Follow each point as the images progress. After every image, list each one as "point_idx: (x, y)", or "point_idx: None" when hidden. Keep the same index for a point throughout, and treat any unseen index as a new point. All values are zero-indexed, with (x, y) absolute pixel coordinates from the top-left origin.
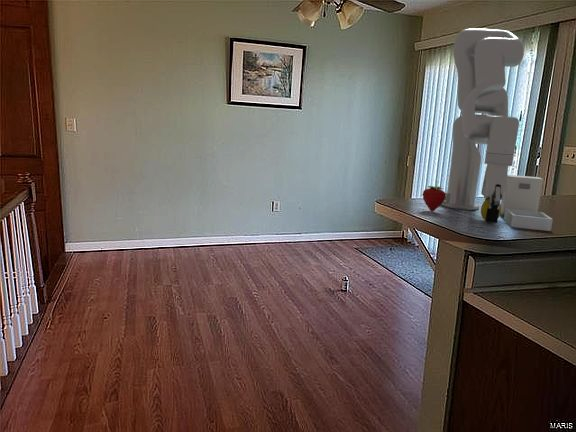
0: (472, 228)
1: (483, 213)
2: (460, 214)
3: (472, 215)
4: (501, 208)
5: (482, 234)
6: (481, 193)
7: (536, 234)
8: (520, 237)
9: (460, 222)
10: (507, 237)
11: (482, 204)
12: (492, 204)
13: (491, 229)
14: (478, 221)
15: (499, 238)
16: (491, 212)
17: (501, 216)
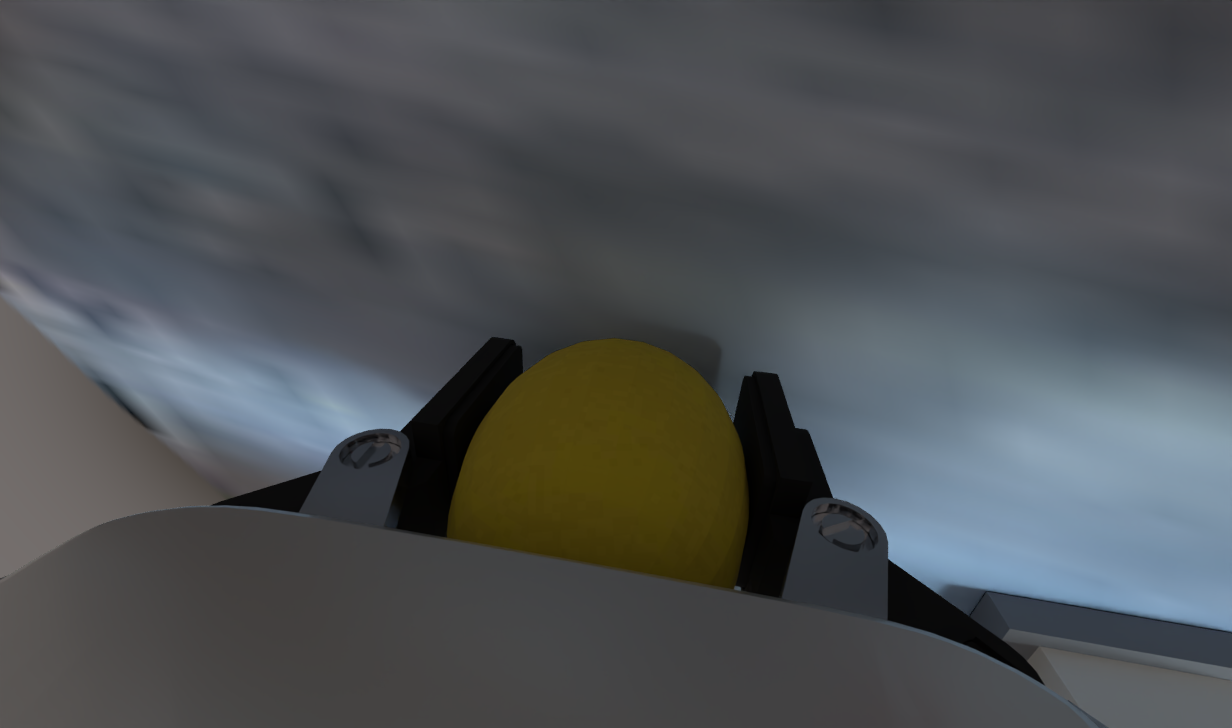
0: (243, 120)
1: (544, 358)
2: (1171, 125)
3: (1086, 314)
4: (1192, 706)
5: (55, 175)
6: (917, 637)
7: None
8: (220, 462)
9: (502, 3)
10: (139, 371)
11: (603, 420)
12: (229, 502)
13: (342, 327)
14: (682, 295)
15: (47, 297)
16: (411, 435)
17: (990, 600)
